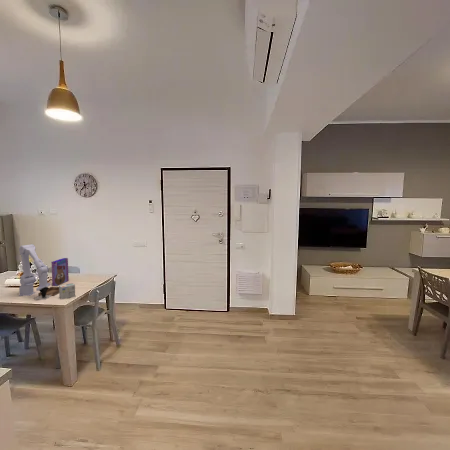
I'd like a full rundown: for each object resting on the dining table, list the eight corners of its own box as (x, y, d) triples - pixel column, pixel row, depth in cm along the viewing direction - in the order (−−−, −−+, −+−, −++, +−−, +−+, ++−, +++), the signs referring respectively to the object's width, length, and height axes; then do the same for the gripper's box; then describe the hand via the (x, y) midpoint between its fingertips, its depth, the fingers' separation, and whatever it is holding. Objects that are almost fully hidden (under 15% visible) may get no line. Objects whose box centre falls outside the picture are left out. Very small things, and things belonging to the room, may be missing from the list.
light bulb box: (72, 294, 231) (72, 282, 230) (75, 296, 227) (75, 284, 226) (58, 298, 223) (58, 285, 222) (62, 299, 218) (61, 287, 217)
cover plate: (34, 300, 217) (34, 298, 217) (40, 297, 225) (40, 295, 225) (45, 300, 217) (45, 298, 217) (51, 297, 225) (51, 295, 225)
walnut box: (38, 296, 225) (38, 293, 225) (51, 290, 242) (51, 286, 242) (53, 296, 225) (53, 293, 225) (65, 290, 242) (65, 286, 242)
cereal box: (57, 286, 253) (56, 261, 251) (52, 286, 253) (51, 261, 251) (68, 280, 270) (67, 258, 268) (64, 280, 270) (63, 257, 268)
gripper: (42, 283, 214) (42, 299, 215) (53, 278, 228) (54, 293, 229) (33, 283, 214) (34, 299, 215) (45, 278, 228) (45, 293, 229)
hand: (43, 296), depth 222 cm, fingers closed
